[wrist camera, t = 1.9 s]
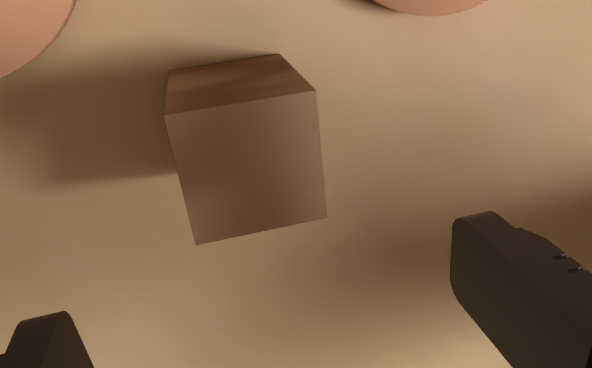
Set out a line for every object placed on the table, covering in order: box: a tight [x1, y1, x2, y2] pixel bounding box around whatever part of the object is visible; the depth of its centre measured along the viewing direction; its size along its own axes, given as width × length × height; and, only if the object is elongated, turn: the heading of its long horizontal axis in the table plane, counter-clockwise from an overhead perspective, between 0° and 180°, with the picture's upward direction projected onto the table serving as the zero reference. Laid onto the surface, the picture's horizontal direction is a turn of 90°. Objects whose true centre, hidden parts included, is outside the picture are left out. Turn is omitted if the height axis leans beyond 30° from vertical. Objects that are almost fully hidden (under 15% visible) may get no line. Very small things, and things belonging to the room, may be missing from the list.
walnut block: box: [163, 54, 327, 245], centre depth 17 cm, size 4×4×6 cm
